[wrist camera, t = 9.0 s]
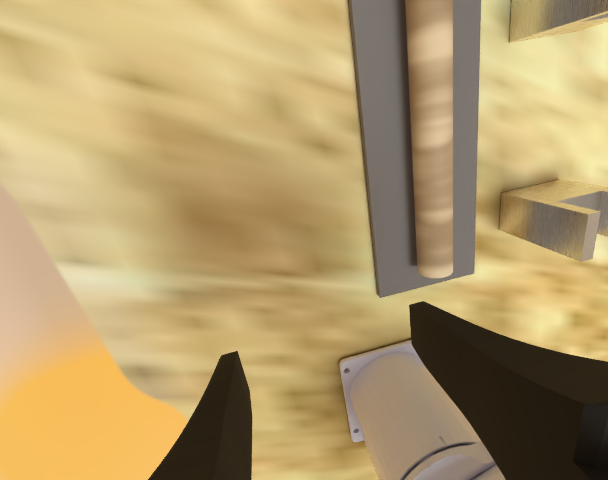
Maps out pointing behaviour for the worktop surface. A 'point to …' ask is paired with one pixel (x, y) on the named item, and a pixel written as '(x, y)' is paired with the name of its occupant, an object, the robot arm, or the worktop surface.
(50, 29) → the worktop surface
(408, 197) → the mat
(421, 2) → the rail
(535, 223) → the hook stands
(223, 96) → the worktop surface
